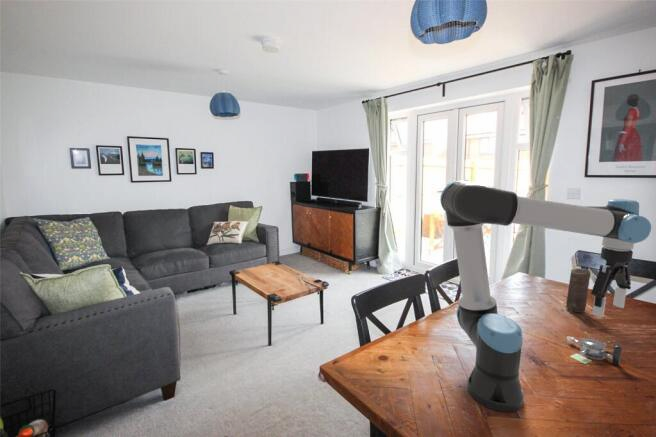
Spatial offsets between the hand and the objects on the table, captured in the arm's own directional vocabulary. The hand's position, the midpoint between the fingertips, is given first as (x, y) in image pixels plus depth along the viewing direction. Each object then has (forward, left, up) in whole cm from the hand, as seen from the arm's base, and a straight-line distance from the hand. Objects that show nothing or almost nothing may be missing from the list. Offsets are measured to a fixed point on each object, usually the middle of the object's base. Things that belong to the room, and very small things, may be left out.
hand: (608, 311), depth 109 cm
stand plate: (+6, +4, -21) cm, 22 cm away
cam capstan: (+5, +5, -20) cm, 21 cm away
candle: (+39, +30, -21) cm, 54 cm away
